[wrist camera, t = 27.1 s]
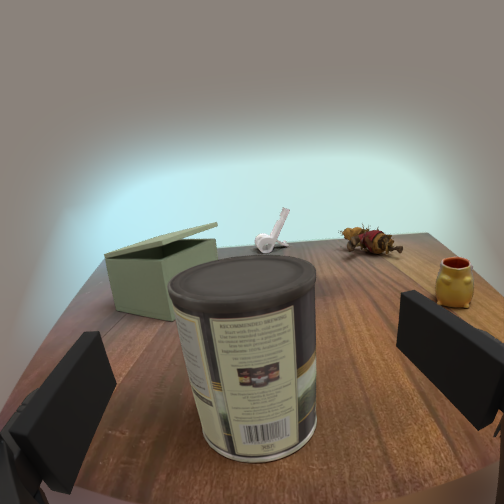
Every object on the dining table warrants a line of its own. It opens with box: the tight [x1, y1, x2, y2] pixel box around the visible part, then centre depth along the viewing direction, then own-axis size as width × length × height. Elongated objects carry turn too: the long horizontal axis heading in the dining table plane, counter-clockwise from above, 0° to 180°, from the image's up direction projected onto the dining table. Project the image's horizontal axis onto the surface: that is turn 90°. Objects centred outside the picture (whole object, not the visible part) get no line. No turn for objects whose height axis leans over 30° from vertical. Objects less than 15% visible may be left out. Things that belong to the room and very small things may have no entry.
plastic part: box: [255, 208, 290, 253], centre depth 89 cm, size 8×10×12 cm
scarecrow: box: [342, 227, 403, 254], centre depth 76 cm, size 17×16×8 cm
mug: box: [435, 256, 474, 308], centre depth 43 cm, size 12×7×7 cm, turn 139°
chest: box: [105, 239, 218, 321], centre depth 57 cm, size 14×16×10 cm
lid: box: [104, 222, 218, 258], centre depth 55 cm, size 15×16×1 cm
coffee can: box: [167, 255, 317, 463], centre depth 23 cm, size 10×10×14 cm
